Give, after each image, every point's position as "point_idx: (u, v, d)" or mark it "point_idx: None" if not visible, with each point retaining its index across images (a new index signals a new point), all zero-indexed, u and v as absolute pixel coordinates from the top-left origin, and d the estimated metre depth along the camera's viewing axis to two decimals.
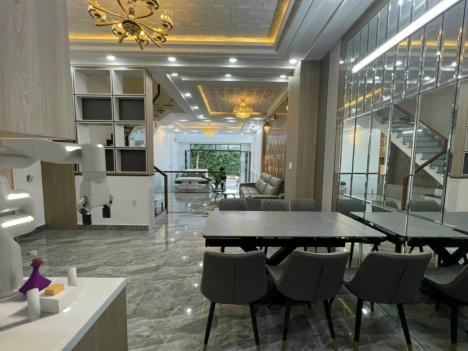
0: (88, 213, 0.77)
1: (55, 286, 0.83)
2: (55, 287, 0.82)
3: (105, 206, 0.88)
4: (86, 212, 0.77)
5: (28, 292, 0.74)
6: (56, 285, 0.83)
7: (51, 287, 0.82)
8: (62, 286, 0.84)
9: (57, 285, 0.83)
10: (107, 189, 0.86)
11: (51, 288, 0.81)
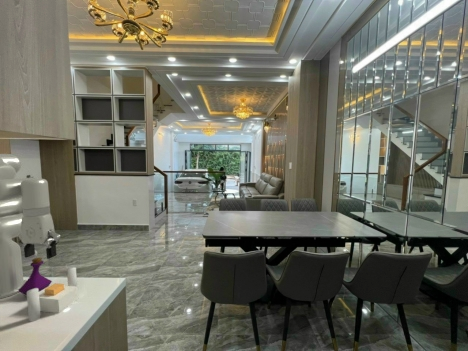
0: None
1: (55, 286, 0.83)
2: (55, 287, 0.82)
3: (28, 244, 0.83)
4: None
5: (28, 292, 0.74)
6: (56, 285, 0.83)
7: (51, 287, 0.82)
8: (62, 286, 0.84)
9: (57, 285, 0.83)
10: None
11: (51, 288, 0.81)
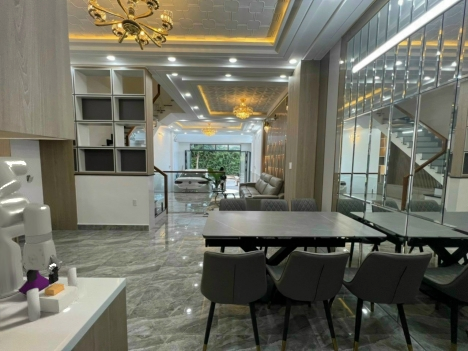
0: None
1: (55, 286, 0.83)
2: (55, 287, 0.82)
3: (30, 269, 0.83)
4: None
5: (28, 292, 0.74)
6: (56, 285, 0.83)
7: (51, 287, 0.82)
8: (62, 286, 0.84)
9: (57, 285, 0.83)
10: None
11: (51, 288, 0.81)
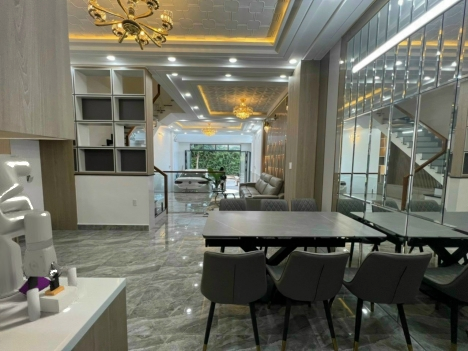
0: None
1: None
2: (55, 289, 0.82)
3: (31, 276, 0.84)
4: None
5: (28, 292, 0.74)
6: None
7: None
8: (62, 288, 0.84)
9: None
10: None
11: None
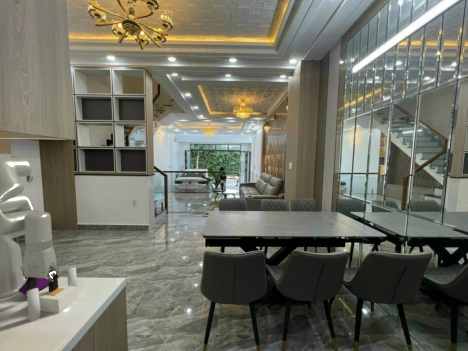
0: None
1: (56, 290, 0.83)
2: (55, 291, 0.82)
3: (30, 276, 0.84)
4: None
5: (28, 292, 0.74)
6: (56, 289, 0.83)
7: None
8: (62, 290, 0.84)
9: (57, 289, 0.84)
10: None
11: (51, 292, 0.82)
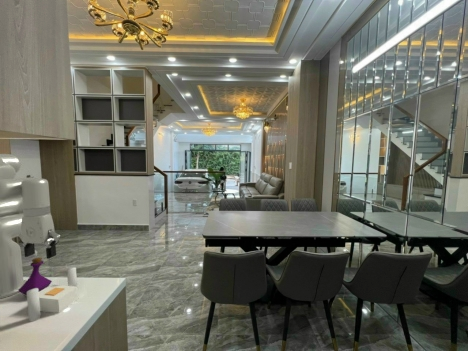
0: None
1: (56, 290, 0.83)
2: (55, 291, 0.82)
3: (28, 243, 0.83)
4: None
5: (28, 292, 0.74)
6: (56, 289, 0.83)
7: (51, 291, 0.82)
8: (62, 290, 0.84)
9: (57, 289, 0.84)
10: None
11: (51, 292, 0.82)
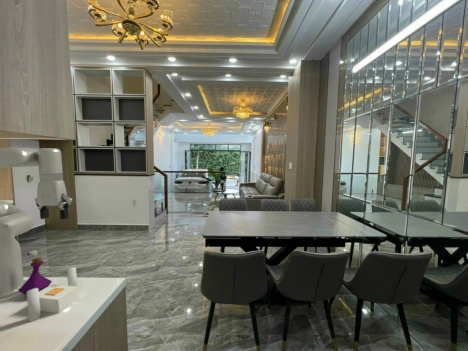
0: None
1: (56, 290, 0.83)
2: (55, 291, 0.82)
3: (43, 207, 0.92)
4: None
5: (28, 292, 0.74)
6: (56, 289, 0.83)
7: (51, 291, 0.82)
8: (62, 290, 0.84)
9: (57, 289, 0.84)
10: None
11: (51, 292, 0.82)
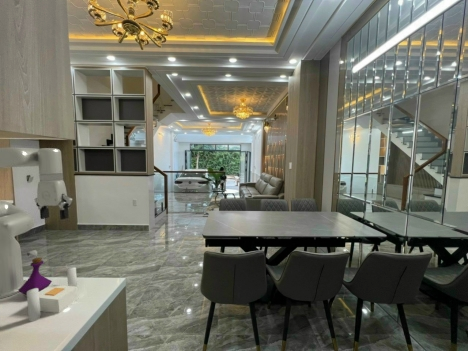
0: None
1: (56, 290, 0.83)
2: (55, 291, 0.82)
3: (43, 207, 0.92)
4: None
5: (28, 292, 0.74)
6: (56, 289, 0.83)
7: (51, 291, 0.82)
8: (62, 290, 0.84)
9: (57, 289, 0.84)
10: None
11: (51, 292, 0.82)
